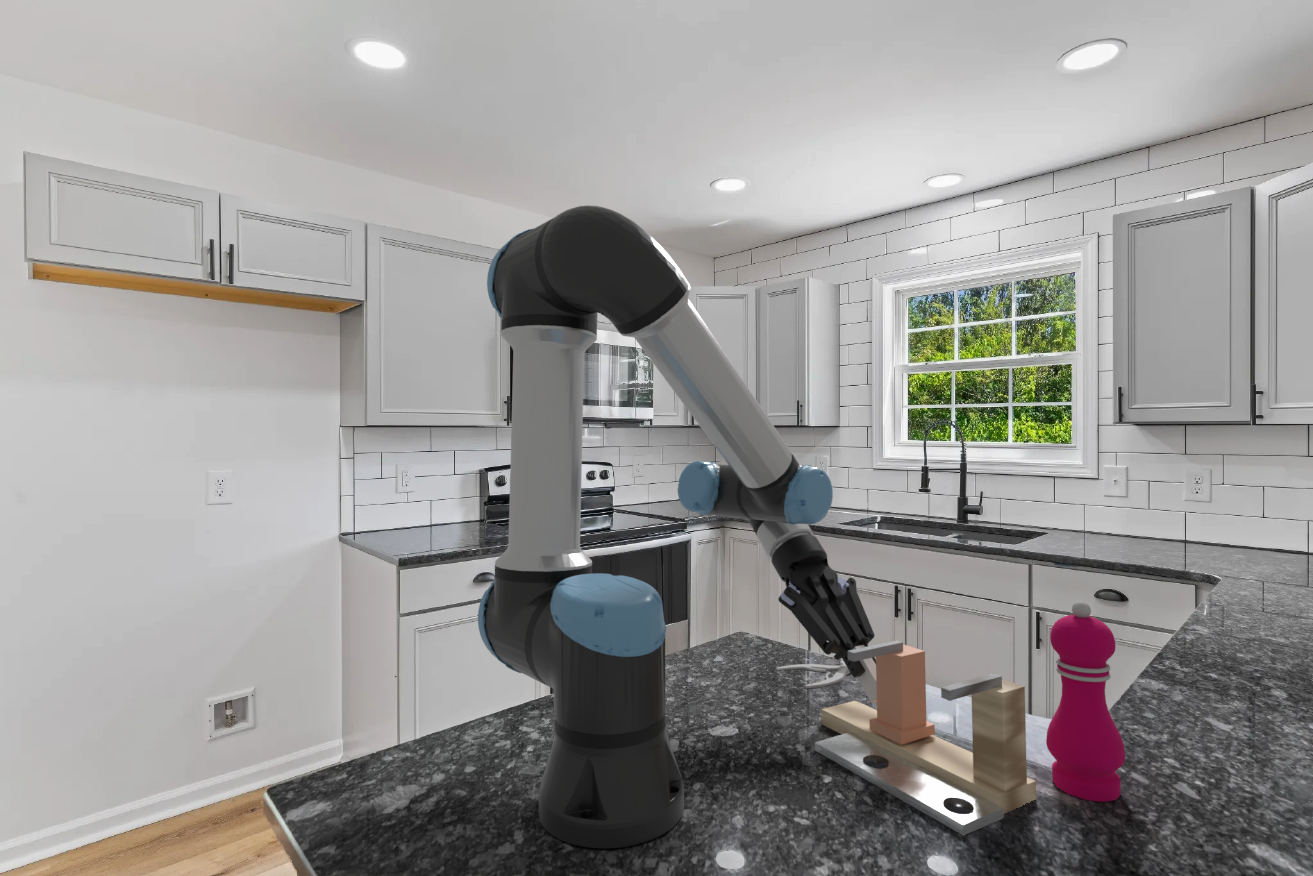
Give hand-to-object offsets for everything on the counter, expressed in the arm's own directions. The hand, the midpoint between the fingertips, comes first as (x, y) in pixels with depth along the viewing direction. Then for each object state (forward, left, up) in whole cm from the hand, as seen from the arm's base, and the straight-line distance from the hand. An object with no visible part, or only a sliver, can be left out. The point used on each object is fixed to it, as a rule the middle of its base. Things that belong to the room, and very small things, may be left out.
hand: (881, 696), depth 86 cm
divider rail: (-3, -5, -6) cm, 8 cm away
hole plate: (-6, -8, -6) cm, 12 cm away
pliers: (+12, +23, -6) cm, 26 cm away
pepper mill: (+10, -19, -6) cm, 22 cm away
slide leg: (-3, -3, -3) cm, 5 cm away
